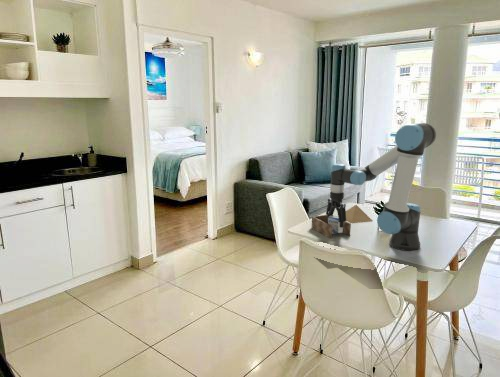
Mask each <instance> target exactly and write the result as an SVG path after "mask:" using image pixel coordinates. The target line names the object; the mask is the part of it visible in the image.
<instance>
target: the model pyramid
mask: <svg viewBox="0 0 500 377" xmlns="http://www.w3.org/2000/svg"><path fill="white" fill-rule="evenodd" d="M346 222H348V223H352V224H359V223H361V224H362V223H369V222H374V221H373V219H372V218H371V217H369V216H368V214H366V212H364V210H362V209H361V207H360V206H359V205H357V204H355V205H353V206H351V207H350V208H348V209H347V210H346Z"/></svg>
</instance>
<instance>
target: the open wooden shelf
mask: <svg viewBox="0 0 500 377" xmlns="http://www.w3.org/2000/svg"><path fill="white" fill-rule="evenodd" d="M351 228H352V224H351V223H349V222H347V221H344V222H343V232H342V233H343V234H345V235H347V236H351ZM311 229H313V230H314V231H316V230H317V232H318V231H319V232H318V233H320V232H321V233H320V234H322V235H324V236H325V235H326V237H327V238H329V239H333V232H332V226H331V225H329V224H328V215H326V214H322V215H315V216H311Z"/></svg>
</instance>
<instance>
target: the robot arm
mask: <svg viewBox="0 0 500 377" xmlns="http://www.w3.org/2000/svg"><path fill="white" fill-rule="evenodd" d="M436 138H437V132H436V129H435V128H434V126H432V125H431V124H429V123H425V122H421V123H408V124H404V125H403V126H401V127H400V128H399V129H398V130H397V131H396V133H395V137H394V142H395V144H396V146H394V147H393V148H391V149H389V150H388V151H387V152H385V153H384V154H382V155H381V156H380V157H378V158H376V159H375V160H374V161H372V162H370V163H369V164H368V165H366V166H365V167H362V168H356V169H348V168H346V164H344V163H334V164H332V165H331V169H330V192H329V193H330V194H329V197H330V198H328V199H327V206H326V213H325V215H328V217H329V216H330V215H331V216H334V213H335V210H336V213H337V216H338V217H339V221H338V234H341V233H343V222H344V221H346V211H347V210H346V204H347V203H343V200H344V198H345V192H344V191H345V184H351V185H355V186H362V185H363V184H365V182H371V181H373V180H376V179H377V177H378V176H379V175H381V174H382V173H383V172H385V171H387V170H389V169H391V168H392V167H394V166H395V165H396V167H395V172H394V176H393V180H392V181H393V182H392V185H391V189H390V195H389V197H388V201H387V202H385V203H384V205H383V210H382V211H381V212H380V213H379V214H378V215H377V218H376V223H377V226H378V227H379V229H380V231H382V232H383V233H385V234H387V235H391V237H390V239H389V242H388V244H389V246H390V247H391V248H393V249H397V250H400V251H405V252H407V251H408V252H414V251H415V252H416V251H419V250H420V249H421V241H420V235H419V229H420V228H419V226H420V219H421V212H422V211H421V206H420V205H418V204H416V203H410V202H409V198H410V194H411V190H412V186H413V182H414V179H415V176H416V175H415V173H416V171H417V166H418V164H419V163H418V161H419V158H421V157H422V156H424V153H425V149H426V148H428V147H430V146H431V145H433V144H434V143H435V141H436ZM346 222H347V221H346Z"/></svg>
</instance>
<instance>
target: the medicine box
mask: <svg viewBox="0 0 500 377" xmlns="http://www.w3.org/2000/svg"><path fill="white" fill-rule="evenodd" d="M338 221H339V217H338V215H337V216H336V215H333V216H331V215H330V216H329V217H328V224H329V225H331V226H332V233H338ZM338 234H339V233H338Z"/></svg>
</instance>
